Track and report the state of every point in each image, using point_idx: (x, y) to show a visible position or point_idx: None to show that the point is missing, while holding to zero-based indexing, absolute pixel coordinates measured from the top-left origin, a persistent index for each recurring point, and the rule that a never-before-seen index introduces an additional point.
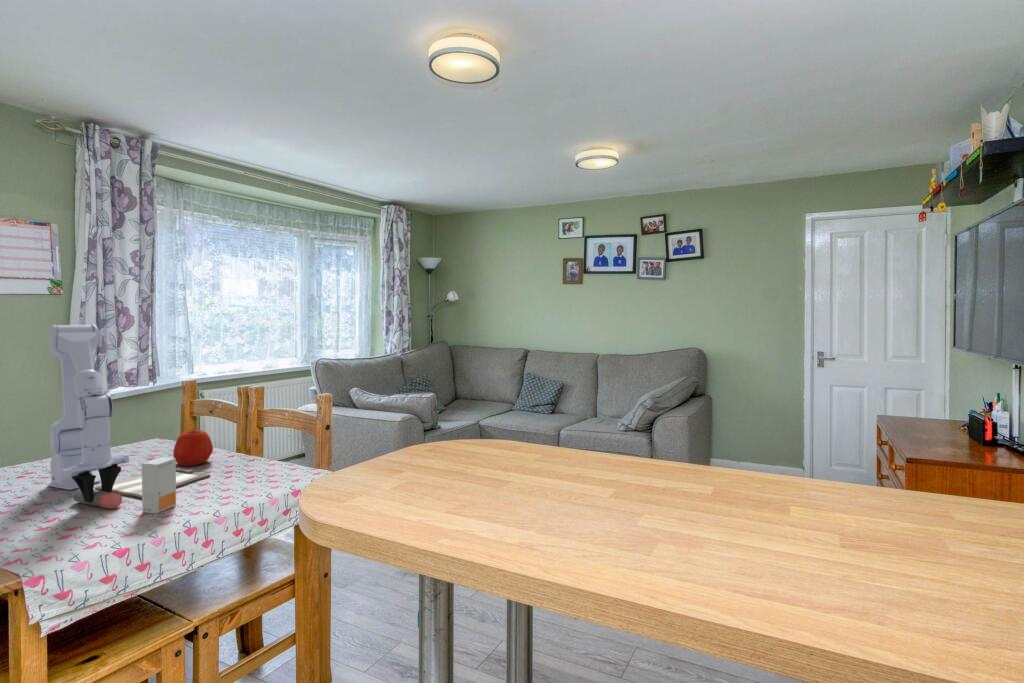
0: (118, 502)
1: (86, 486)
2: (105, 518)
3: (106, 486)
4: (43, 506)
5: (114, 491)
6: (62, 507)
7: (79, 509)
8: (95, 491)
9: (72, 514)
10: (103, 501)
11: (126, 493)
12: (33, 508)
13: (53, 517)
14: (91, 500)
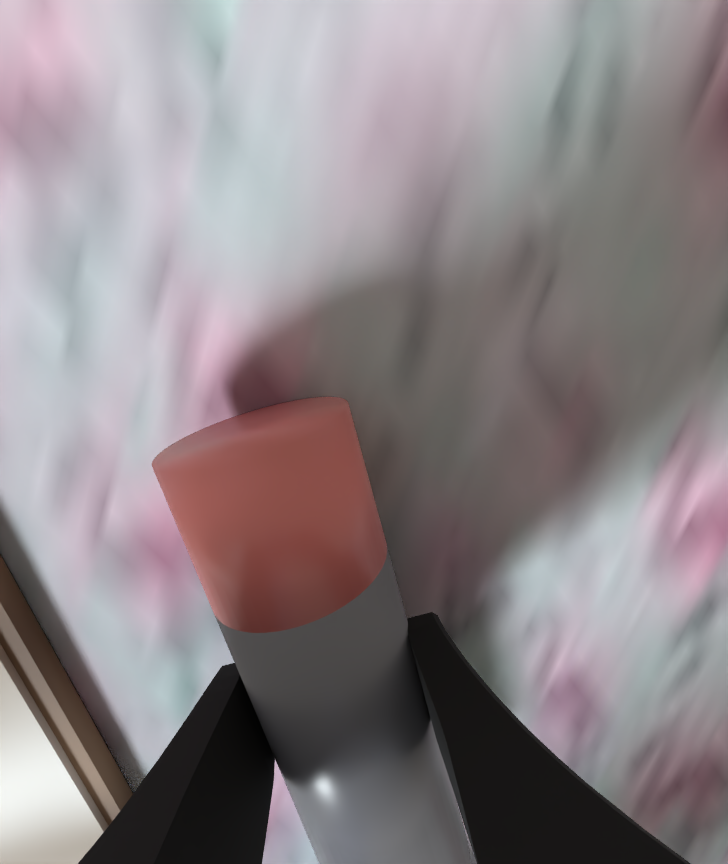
0: (213, 432)
1: (583, 787)
2: (445, 148)
3: (226, 803)
4: None
5: None
6: None
7: (475, 627)
8: (362, 757)
9: (564, 543)
10: (363, 476)
11: (60, 719)
12: None
13: (675, 580)
14: (425, 623)
